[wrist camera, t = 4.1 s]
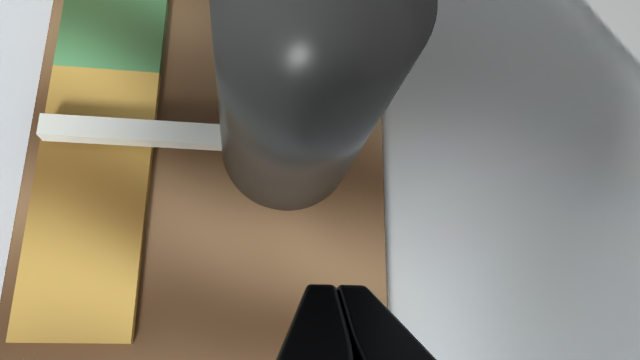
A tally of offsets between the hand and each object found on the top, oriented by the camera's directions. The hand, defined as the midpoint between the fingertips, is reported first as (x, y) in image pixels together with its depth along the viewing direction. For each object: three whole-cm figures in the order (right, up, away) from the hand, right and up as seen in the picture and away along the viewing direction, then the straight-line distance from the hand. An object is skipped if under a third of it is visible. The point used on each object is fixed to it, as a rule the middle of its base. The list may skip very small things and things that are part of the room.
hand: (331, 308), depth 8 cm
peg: (-4, +5, +11) cm, 13 cm away
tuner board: (-4, +3, +12) cm, 13 cm away
